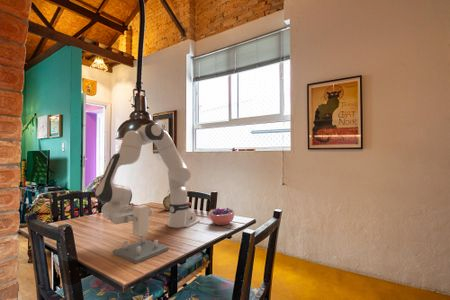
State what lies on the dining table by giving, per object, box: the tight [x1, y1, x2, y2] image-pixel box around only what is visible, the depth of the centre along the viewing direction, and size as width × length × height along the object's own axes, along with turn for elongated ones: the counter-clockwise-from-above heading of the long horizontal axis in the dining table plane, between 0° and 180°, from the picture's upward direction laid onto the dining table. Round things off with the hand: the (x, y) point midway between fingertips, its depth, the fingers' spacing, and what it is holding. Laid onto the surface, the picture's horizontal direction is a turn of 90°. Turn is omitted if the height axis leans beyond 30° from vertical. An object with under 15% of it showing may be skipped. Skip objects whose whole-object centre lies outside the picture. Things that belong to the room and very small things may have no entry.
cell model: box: [208, 207, 235, 226], centre depth 166 cm, size 17×20×11 cm
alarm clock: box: [162, 189, 170, 211], centre depth 204 cm, size 11×5×16 cm, turn 105°
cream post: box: [132, 204, 149, 237], centre depth 119 cm, size 5×5×13 cm
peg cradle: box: [112, 235, 169, 264], centre depth 119 cm, size 18×18×5 cm
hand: (141, 218), depth 119 cm, fingers closed on cream post, 5 cm apart
